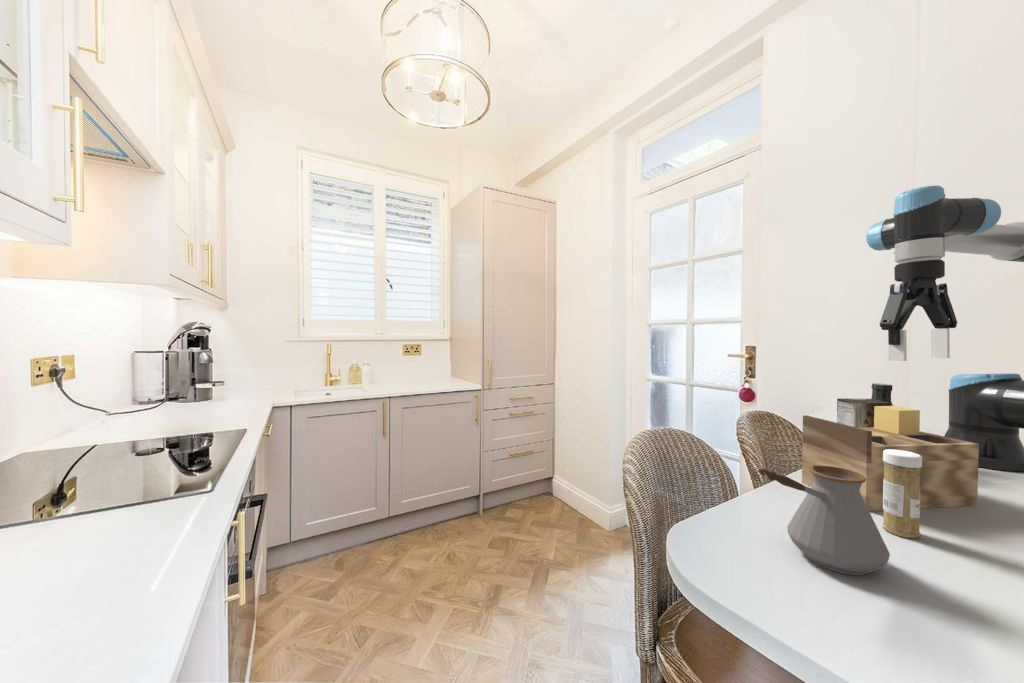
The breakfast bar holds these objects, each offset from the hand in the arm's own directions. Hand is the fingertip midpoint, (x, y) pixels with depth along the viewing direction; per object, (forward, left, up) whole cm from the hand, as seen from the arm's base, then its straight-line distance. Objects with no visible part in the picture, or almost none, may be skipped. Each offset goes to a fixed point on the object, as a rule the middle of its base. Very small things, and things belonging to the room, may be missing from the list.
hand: (919, 359), depth 84 cm
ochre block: (+5, 0, -16) cm, 16 cm away
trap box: (+12, +3, -28) cm, 30 cm away
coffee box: (-4, -15, -28) cm, 32 cm away
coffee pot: (+49, +25, -28) cm, 61 cm away
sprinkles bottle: (+26, +18, -28) cm, 42 cm away
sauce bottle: (-12, -18, -28) cm, 35 cm away
